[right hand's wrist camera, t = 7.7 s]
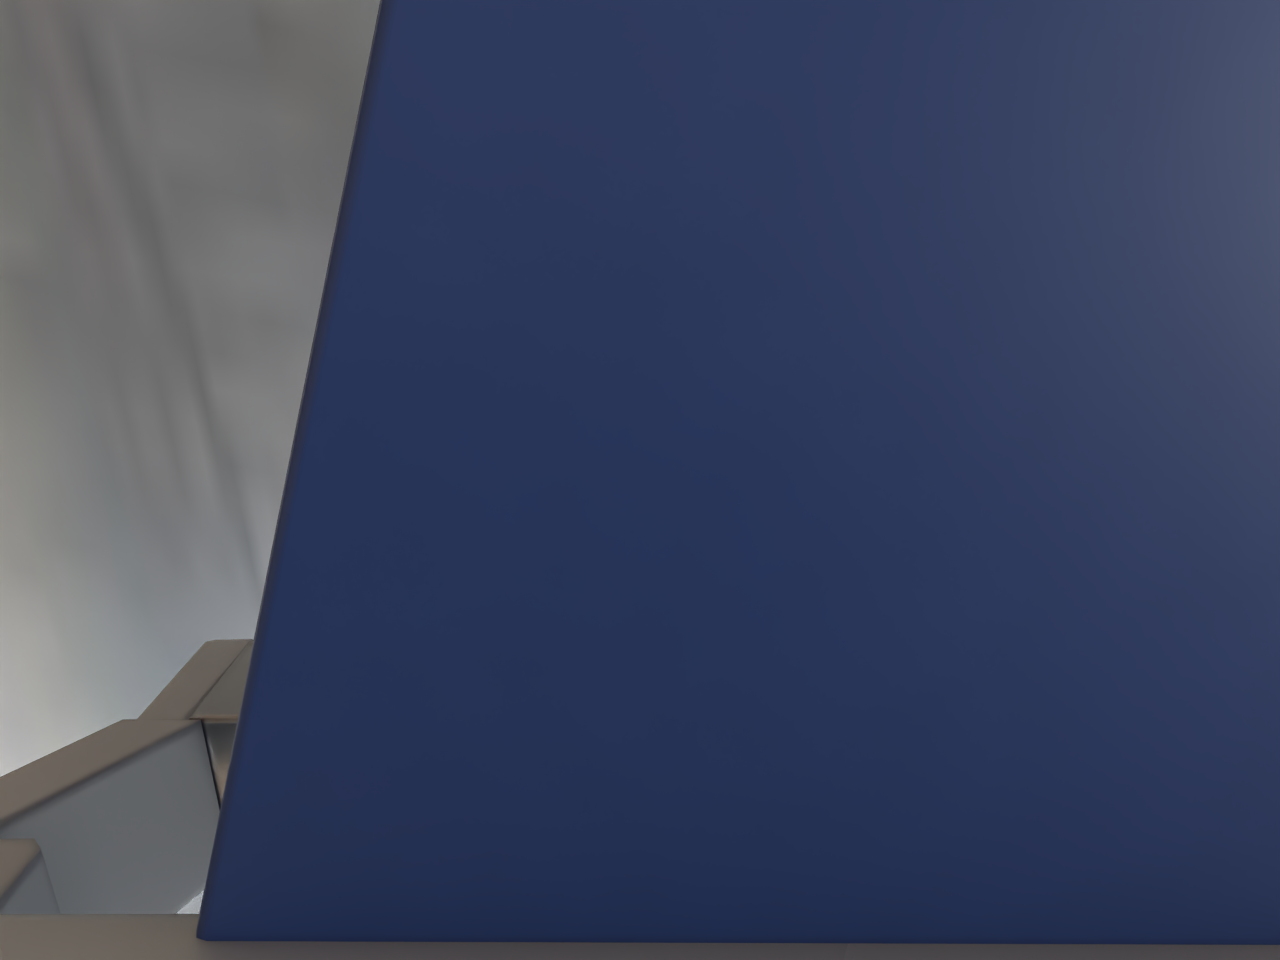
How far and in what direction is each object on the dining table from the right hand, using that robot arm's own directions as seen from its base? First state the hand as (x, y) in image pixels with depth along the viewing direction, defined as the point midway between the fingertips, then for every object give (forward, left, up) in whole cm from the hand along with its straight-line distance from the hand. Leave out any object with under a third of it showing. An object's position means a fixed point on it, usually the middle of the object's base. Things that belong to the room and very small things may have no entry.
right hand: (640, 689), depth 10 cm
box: (+5, +8, -5) cm, 11 cm away
